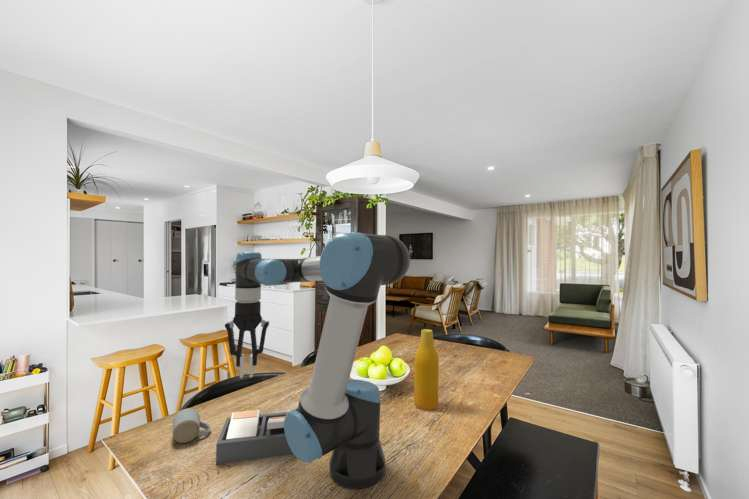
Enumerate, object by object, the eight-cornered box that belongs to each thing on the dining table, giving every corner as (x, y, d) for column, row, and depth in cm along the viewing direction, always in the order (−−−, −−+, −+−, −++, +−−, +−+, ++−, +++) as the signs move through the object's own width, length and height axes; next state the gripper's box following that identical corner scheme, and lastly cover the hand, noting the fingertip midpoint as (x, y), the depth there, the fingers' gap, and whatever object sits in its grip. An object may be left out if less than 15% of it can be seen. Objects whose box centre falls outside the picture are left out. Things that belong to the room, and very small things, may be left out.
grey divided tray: (301, 453, 97) (302, 424, 97) (216, 464, 91) (216, 433, 91) (300, 427, 111) (301, 402, 111) (226, 435, 106) (227, 408, 106)
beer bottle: (442, 405, 129) (443, 330, 129) (429, 413, 122) (430, 334, 122) (423, 398, 135) (423, 326, 136) (409, 405, 128) (410, 330, 129)
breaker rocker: (257, 440, 97) (257, 435, 96) (224, 443, 94) (224, 438, 94) (260, 414, 106) (260, 409, 105) (231, 416, 104) (231, 412, 103)
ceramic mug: (171, 448, 98) (173, 421, 99) (172, 434, 105) (173, 410, 106) (211, 439, 104) (212, 414, 104) (209, 427, 111) (210, 403, 111)
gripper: (274, 298, 110) (272, 370, 109) (224, 299, 106) (222, 373, 106) (272, 302, 103) (271, 378, 102) (219, 303, 99) (217, 382, 99)
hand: (246, 376), depth 104 cm, fingers open, 2 cm apart
